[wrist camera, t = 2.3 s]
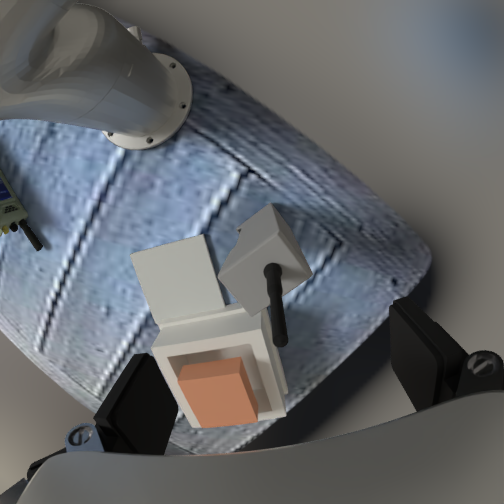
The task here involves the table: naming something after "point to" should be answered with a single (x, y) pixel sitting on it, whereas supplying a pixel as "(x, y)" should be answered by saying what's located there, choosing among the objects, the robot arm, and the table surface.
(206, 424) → the button
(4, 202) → the handheld radio
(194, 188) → the table surface
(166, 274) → the light gray square panel
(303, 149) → the table surface
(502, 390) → the robot arm
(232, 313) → the frame
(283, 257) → the vintage mobile phone
